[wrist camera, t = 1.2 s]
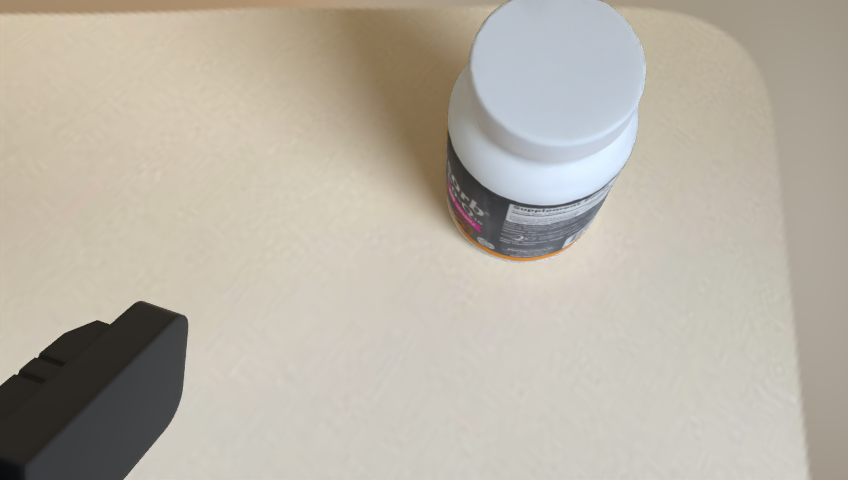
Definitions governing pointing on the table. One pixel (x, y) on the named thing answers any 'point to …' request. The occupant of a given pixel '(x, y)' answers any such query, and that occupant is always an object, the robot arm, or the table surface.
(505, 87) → the pill bottle
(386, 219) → the table surface
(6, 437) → the robot arm
